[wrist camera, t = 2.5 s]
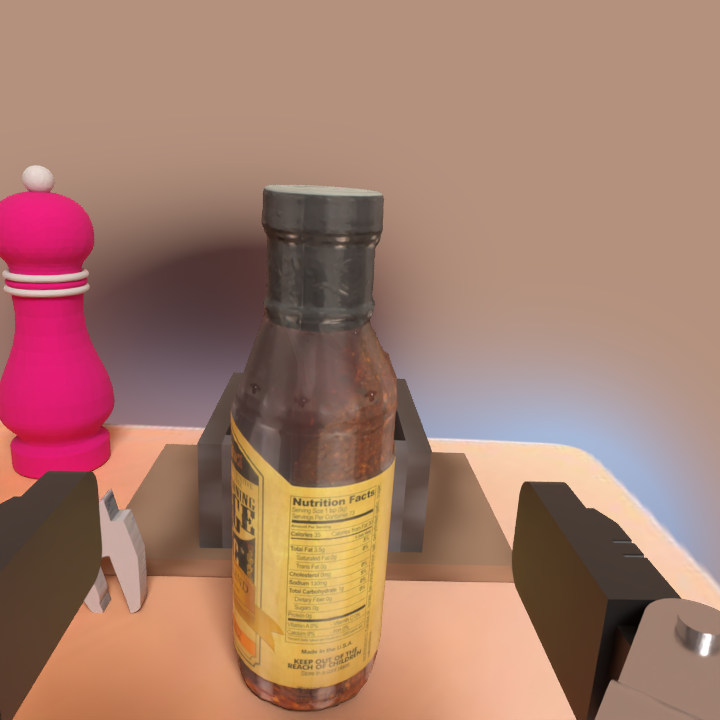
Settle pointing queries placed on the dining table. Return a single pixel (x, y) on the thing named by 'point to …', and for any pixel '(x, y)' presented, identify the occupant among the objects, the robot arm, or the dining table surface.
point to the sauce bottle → (313, 455)
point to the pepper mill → (51, 335)
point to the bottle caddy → (407, 522)
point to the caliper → (120, 557)
